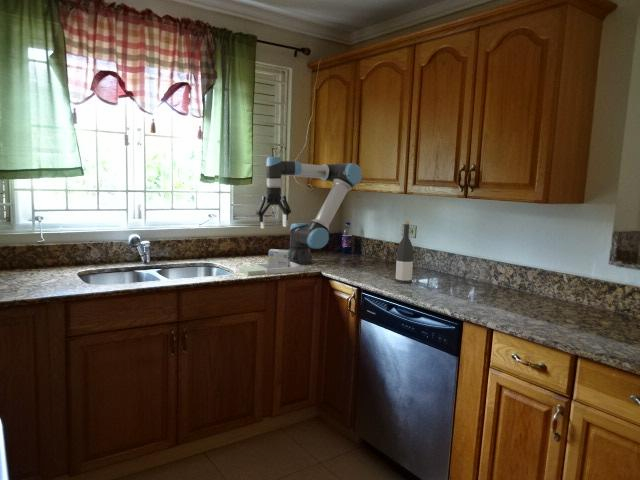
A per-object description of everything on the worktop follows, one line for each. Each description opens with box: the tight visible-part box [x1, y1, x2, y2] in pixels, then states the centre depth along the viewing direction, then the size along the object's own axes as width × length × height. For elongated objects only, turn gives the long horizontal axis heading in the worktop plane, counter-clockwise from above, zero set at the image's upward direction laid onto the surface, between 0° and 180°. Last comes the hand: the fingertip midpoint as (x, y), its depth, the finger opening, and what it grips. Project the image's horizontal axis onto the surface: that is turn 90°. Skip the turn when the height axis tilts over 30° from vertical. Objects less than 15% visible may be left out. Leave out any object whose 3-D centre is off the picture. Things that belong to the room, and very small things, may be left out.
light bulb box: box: [267, 248, 290, 269], centre depth 261 cm, size 11×7×11 cm, turn 84°
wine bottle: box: [395, 220, 414, 285], centre depth 240 cm, size 8×8×30 cm
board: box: [238, 265, 265, 276], centre depth 252 cm, size 9×12×2 cm
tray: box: [253, 262, 305, 275], centre depth 262 cm, size 22×16×2 cm
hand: (273, 227), depth 258 cm, fingers open, 13 cm apart
